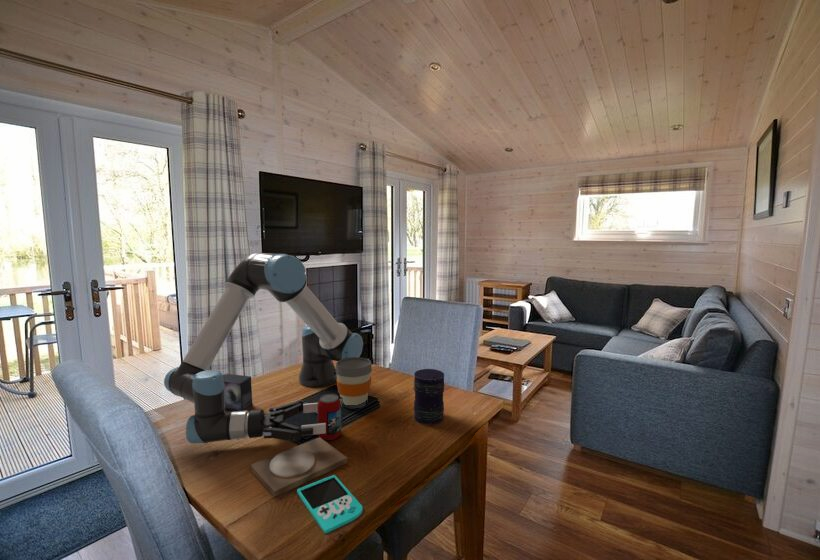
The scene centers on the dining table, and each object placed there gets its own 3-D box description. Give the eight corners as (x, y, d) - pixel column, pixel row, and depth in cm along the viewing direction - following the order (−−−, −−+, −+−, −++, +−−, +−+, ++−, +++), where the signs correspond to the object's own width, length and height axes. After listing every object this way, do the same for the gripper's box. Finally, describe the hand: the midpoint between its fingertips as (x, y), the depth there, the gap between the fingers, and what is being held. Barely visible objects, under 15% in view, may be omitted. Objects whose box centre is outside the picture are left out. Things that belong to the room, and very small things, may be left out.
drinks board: (319, 441, 115) (319, 434, 115) (347, 462, 105) (347, 454, 105) (250, 470, 101) (250, 461, 101) (274, 497, 91) (274, 488, 91)
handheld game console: (324, 536, 81) (323, 530, 80) (295, 493, 93) (295, 488, 93) (366, 515, 87) (366, 510, 86) (334, 478, 99) (334, 473, 99)
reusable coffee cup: (338, 396, 146) (338, 357, 144) (372, 396, 147) (372, 356, 145) (333, 412, 134) (332, 369, 132) (371, 411, 134) (370, 369, 132)
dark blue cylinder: (408, 414, 132) (408, 371, 130) (433, 408, 137) (434, 367, 135) (423, 428, 124) (423, 382, 122) (449, 421, 128) (450, 376, 126)
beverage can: (336, 443, 115) (335, 403, 113) (314, 440, 116) (313, 401, 114) (344, 431, 121) (344, 393, 120) (323, 429, 122) (323, 391, 121)
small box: (214, 409, 135) (212, 379, 134) (227, 401, 142) (225, 372, 140) (241, 412, 133) (239, 382, 131) (253, 404, 139) (252, 375, 138)
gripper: (256, 416, 125) (324, 409, 129) (240, 461, 101) (326, 451, 105) (254, 393, 124) (324, 387, 128) (239, 433, 100) (325, 425, 104)
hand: (325, 416), depth 117 cm, fingers open, 13 cm apart
